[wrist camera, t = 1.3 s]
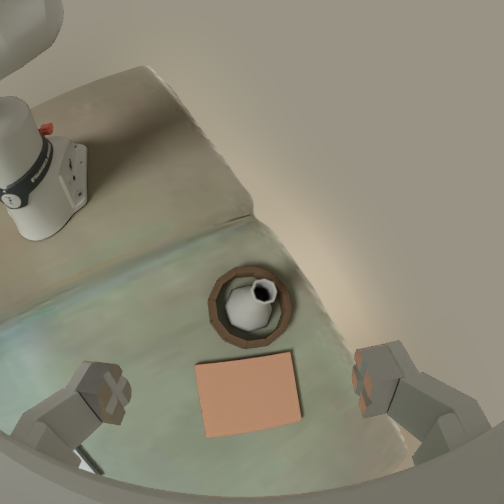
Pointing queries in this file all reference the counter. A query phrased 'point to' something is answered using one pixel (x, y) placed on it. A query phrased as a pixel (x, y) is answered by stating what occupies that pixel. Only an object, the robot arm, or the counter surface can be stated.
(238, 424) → the terracotta pad
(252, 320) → the flask
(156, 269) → the counter surface
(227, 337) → the ring holder
